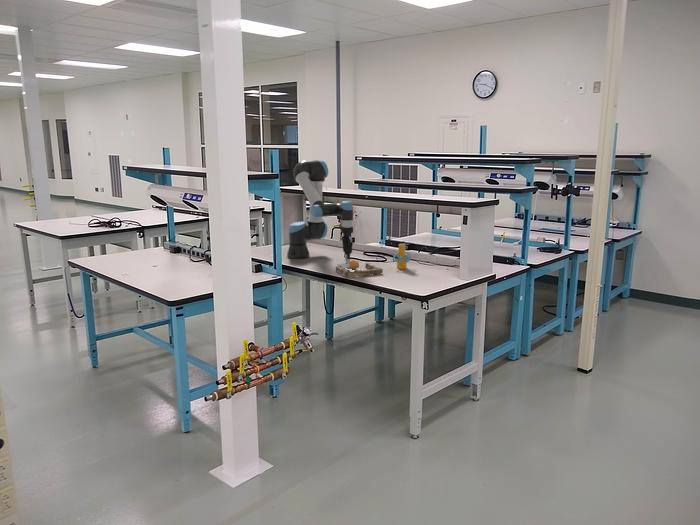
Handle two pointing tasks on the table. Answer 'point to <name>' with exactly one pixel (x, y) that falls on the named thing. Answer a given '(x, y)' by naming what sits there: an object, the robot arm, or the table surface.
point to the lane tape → (344, 265)
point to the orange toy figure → (401, 257)
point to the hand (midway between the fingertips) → (347, 263)
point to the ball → (354, 265)
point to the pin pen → (370, 266)
